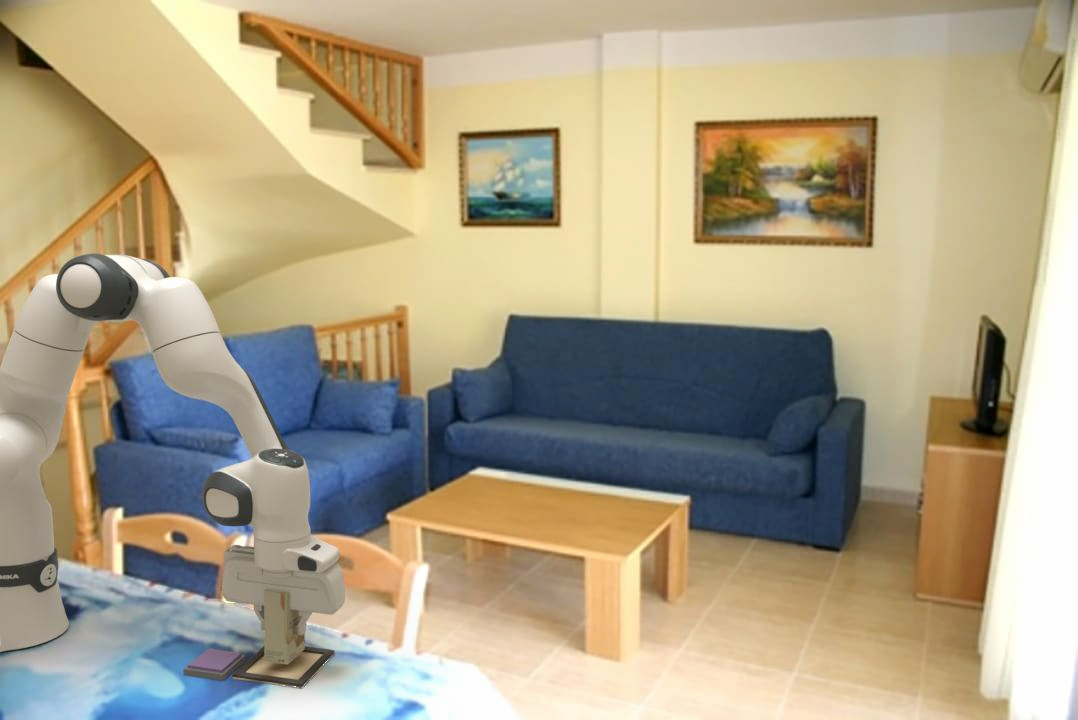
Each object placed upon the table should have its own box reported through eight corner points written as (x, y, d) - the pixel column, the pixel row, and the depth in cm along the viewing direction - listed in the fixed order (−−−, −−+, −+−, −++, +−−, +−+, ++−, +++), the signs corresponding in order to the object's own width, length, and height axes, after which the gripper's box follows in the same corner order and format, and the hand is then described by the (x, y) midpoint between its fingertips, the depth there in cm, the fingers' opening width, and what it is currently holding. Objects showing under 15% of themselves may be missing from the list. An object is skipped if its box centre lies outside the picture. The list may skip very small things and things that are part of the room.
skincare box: (288, 666, 151) (287, 594, 149) (263, 662, 151) (262, 590, 149) (306, 648, 157) (305, 578, 155) (282, 644, 158) (281, 575, 156)
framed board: (232, 678, 149) (232, 674, 149) (269, 645, 161) (269, 641, 161) (301, 688, 147) (301, 684, 147) (334, 654, 158) (334, 650, 158)
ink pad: (183, 674, 150) (183, 666, 150) (207, 655, 157) (207, 646, 156) (223, 680, 149) (222, 671, 148) (246, 660, 155) (245, 652, 155)
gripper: (213, 550, 150) (215, 631, 152) (332, 564, 146) (332, 647, 148) (234, 537, 156) (235, 615, 158) (349, 550, 152) (349, 630, 154)
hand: (283, 631), depth 153 cm, fingers closed on skincare box, 4 cm apart
